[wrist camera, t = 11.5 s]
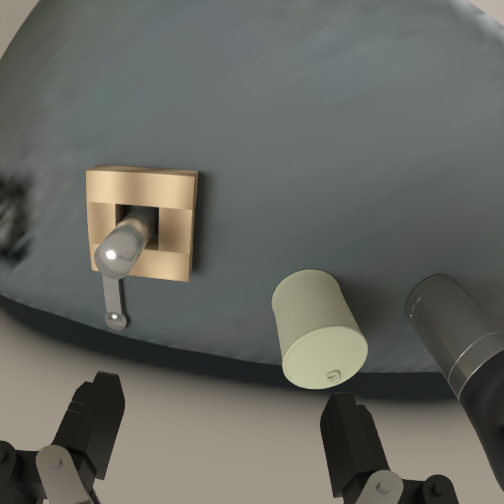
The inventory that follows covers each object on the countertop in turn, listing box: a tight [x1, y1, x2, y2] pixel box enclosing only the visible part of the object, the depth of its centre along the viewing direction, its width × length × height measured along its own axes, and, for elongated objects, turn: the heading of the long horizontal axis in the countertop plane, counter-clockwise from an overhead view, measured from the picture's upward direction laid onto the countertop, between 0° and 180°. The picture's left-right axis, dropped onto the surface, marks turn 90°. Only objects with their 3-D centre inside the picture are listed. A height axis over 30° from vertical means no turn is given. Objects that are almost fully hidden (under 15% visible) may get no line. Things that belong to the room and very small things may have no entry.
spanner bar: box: [102, 274, 128, 330], centre depth 39 cm, size 11×3×1 cm, turn 173°
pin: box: [94, 205, 159, 280], centre depth 30 cm, size 4×4×11 cm
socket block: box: [86, 165, 198, 282], centre depth 34 cm, size 12×12×3 cm
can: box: [272, 269, 368, 389], centre depth 36 cm, size 9×9×12 cm
